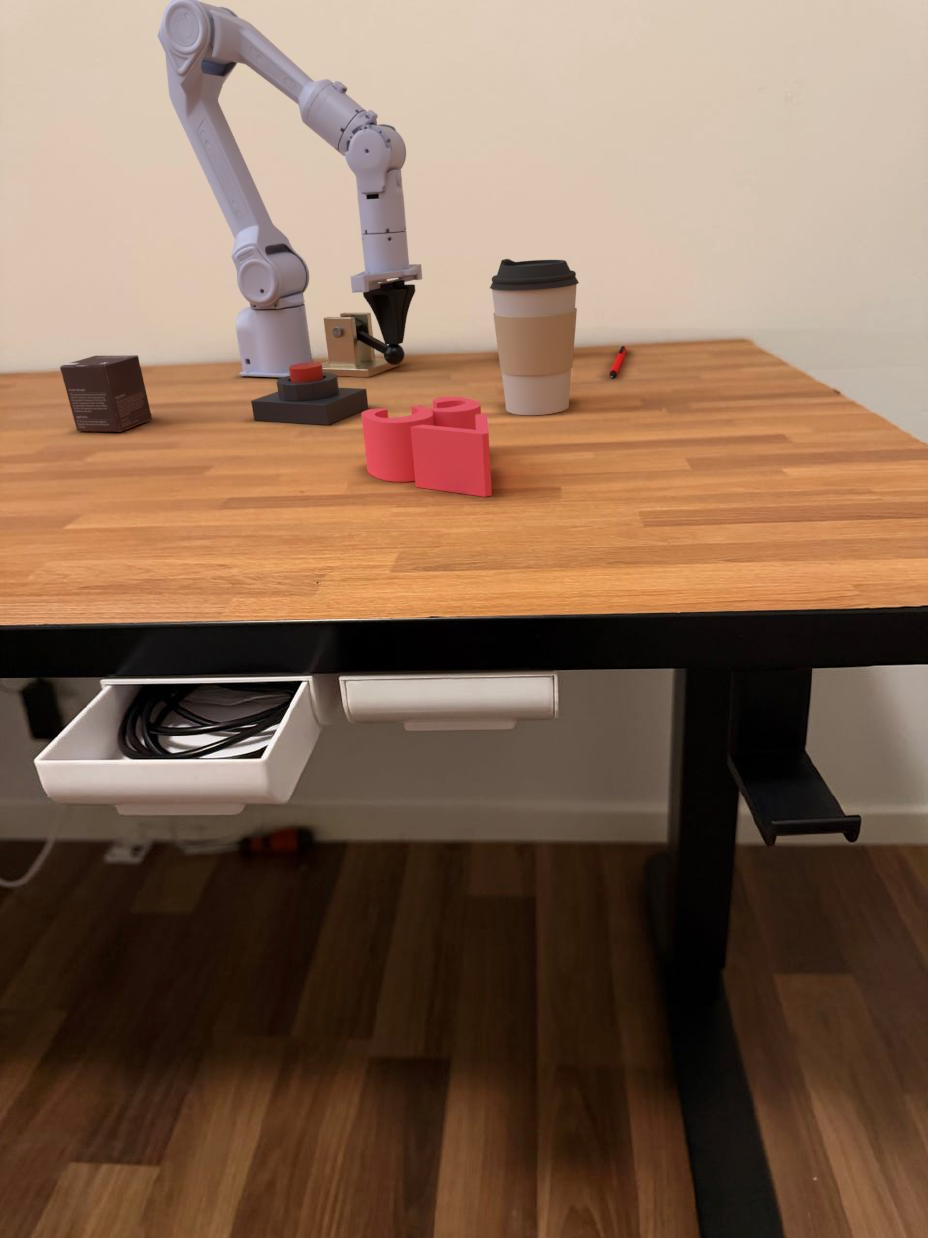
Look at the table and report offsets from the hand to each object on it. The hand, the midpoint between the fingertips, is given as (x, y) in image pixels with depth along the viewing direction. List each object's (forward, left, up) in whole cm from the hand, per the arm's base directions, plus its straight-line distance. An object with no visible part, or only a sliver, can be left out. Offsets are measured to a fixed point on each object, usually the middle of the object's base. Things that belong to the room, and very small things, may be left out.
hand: (394, 343), depth 119 cm
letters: (+29, -41, -4) cm, 50 cm away
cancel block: (+3, -24, -4) cm, 24 cm away
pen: (+28, +9, -4) cm, 30 cm away
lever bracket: (-7, 0, -4) cm, 8 cm away
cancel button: (+3, -24, 0) cm, 24 cm away
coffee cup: (+27, -16, -4) cm, 32 cm away
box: (-17, -34, -4) cm, 38 cm away
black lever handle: (-4, 0, -1) cm, 4 cm away
